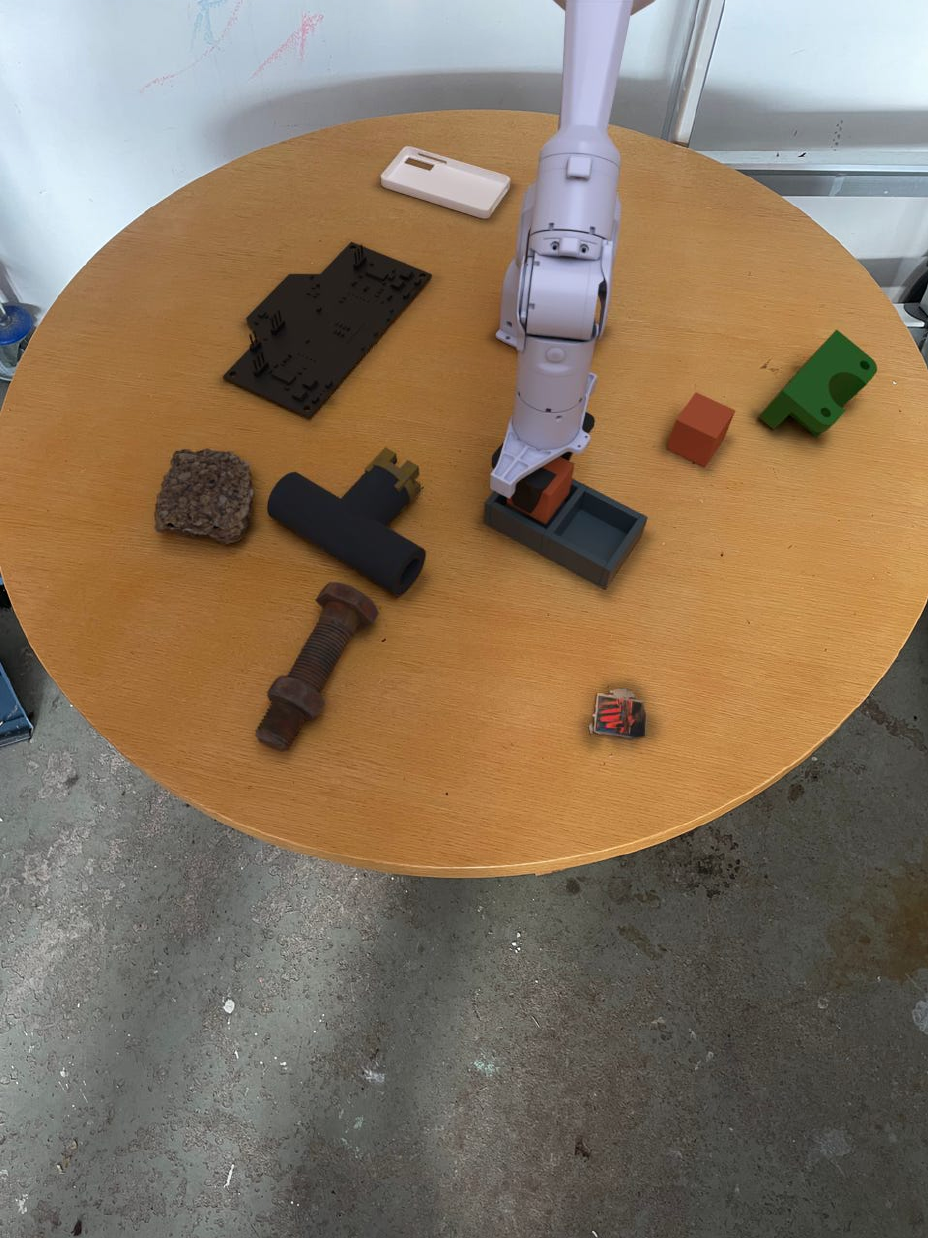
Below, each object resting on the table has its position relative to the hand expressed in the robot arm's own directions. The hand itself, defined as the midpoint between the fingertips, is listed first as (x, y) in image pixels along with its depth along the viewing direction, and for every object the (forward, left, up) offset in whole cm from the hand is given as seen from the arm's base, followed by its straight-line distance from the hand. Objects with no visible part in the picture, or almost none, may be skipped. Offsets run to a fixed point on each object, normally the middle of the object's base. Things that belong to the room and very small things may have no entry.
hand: (537, 488), depth 82 cm
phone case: (-36, +37, -4) cm, 52 cm away
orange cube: (0, 0, -1) cm, 1 cm away
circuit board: (-34, +9, -4) cm, 35 cm away
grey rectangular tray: (+3, 0, -4) cm, 5 cm away
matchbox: (+17, -14, -4) cm, 23 cm away
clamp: (+17, +28, -4) cm, 33 cm away
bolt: (-7, -26, -4) cm, 27 cm away
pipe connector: (-13, -10, -4) cm, 17 cm away
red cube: (+9, +17, -4) cm, 20 cm away
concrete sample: (-27, -17, -4) cm, 32 cm away
